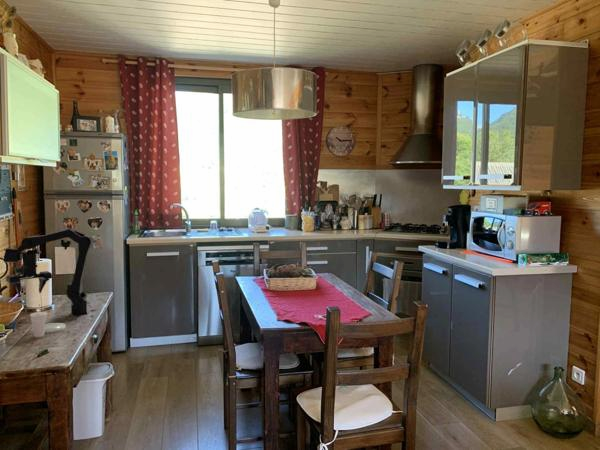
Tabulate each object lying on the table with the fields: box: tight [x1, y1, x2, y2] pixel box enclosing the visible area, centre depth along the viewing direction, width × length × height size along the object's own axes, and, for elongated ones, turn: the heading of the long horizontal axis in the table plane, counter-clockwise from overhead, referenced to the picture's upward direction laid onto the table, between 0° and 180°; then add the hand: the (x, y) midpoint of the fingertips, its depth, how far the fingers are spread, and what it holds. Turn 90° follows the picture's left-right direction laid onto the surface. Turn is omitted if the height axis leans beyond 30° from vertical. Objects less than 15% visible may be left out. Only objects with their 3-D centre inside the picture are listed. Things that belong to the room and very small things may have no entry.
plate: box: [44, 322, 67, 334], centre depth 210 cm, size 11×11×1 cm
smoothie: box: [29, 303, 48, 338], centre depth 200 cm, size 6×6×14 cm
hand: (29, 294), depth 227 cm, fingers open, 9 cm apart
